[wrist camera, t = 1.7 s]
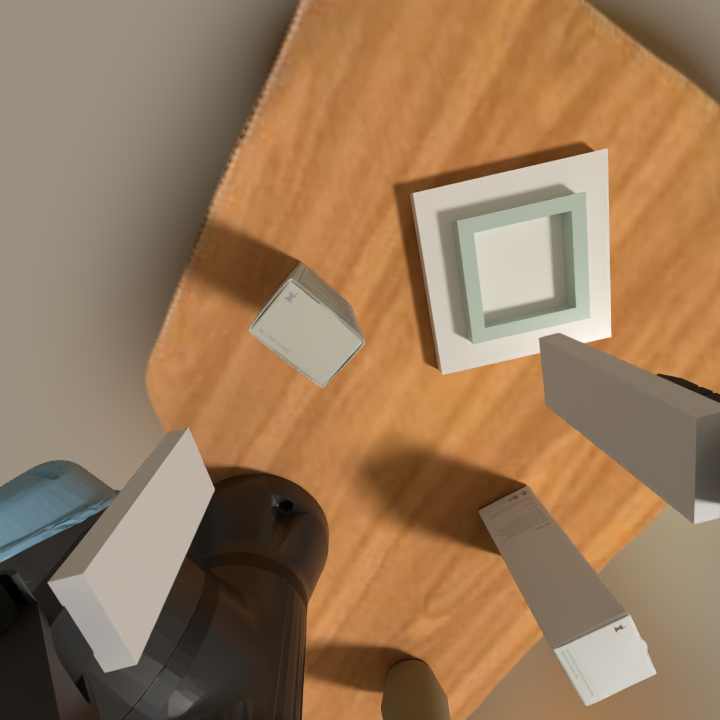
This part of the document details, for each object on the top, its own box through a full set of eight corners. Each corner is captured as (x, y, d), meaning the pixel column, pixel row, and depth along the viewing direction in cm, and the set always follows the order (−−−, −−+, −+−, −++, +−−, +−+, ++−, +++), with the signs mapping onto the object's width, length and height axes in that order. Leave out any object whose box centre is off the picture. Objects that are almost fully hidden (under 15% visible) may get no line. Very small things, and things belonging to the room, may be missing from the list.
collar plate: (438, 369, 39) (446, 380, 36) (409, 194, 34) (416, 191, 31) (600, 332, 39) (622, 341, 36) (596, 151, 34) (620, 144, 31)
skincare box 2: (475, 508, 44) (547, 648, 30) (531, 480, 44) (631, 610, 29) (505, 559, 47) (584, 712, 32) (557, 534, 46) (663, 678, 31)
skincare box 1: (270, 297, 36) (240, 329, 24) (302, 258, 35) (287, 273, 24) (324, 342, 38) (320, 392, 26) (356, 306, 37) (367, 342, 25)
